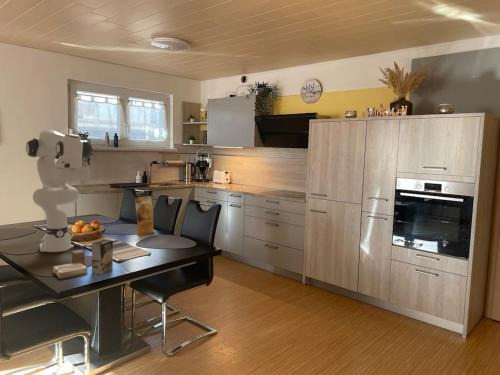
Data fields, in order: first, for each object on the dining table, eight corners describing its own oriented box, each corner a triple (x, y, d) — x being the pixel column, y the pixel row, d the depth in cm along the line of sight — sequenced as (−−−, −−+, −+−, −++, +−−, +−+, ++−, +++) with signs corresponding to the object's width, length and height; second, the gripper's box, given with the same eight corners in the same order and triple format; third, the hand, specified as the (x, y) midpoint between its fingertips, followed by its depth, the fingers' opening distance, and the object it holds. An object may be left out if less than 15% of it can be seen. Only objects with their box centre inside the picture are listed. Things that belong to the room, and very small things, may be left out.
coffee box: (101, 274, 192) (101, 244, 191) (91, 273, 194) (91, 243, 192) (113, 269, 201) (113, 240, 199) (103, 267, 203) (103, 239, 201)
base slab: (53, 271, 193) (53, 266, 193) (79, 267, 202) (79, 261, 202) (60, 278, 185) (60, 272, 184) (87, 273, 193) (87, 267, 193)
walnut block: (72, 265, 205) (71, 251, 204) (81, 263, 208) (81, 249, 207) (75, 267, 201) (75, 253, 200) (84, 265, 204) (84, 251, 204)
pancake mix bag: (131, 235, 274) (131, 197, 271) (150, 230, 291) (150, 194, 287) (138, 236, 271) (138, 198, 268) (156, 231, 287) (157, 195, 284)
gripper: (86, 163, 212) (86, 187, 214) (52, 164, 195) (52, 190, 196) (93, 164, 209) (93, 188, 211) (59, 165, 192) (60, 191, 193)
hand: (73, 189), depth 203 cm, fingers open, 8 cm apart
